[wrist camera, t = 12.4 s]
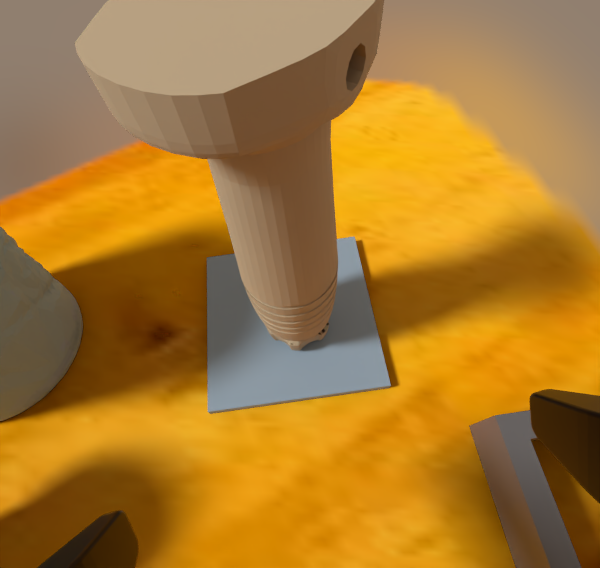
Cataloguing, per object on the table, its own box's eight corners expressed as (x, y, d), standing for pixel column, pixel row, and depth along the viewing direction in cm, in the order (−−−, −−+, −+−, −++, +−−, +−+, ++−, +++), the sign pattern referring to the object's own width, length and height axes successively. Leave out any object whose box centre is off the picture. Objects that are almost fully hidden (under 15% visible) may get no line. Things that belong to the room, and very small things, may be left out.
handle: (367, 298, 20) (433, -58, 7) (306, 400, 18) (244, 131, 5) (293, 261, 22) (241, -85, 9) (227, 351, 19) (20, 48, 6)
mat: (389, 387, 18) (390, 385, 18) (210, 413, 18) (207, 411, 18) (354, 241, 23) (354, 236, 22) (209, 261, 23) (206, 257, 22)
